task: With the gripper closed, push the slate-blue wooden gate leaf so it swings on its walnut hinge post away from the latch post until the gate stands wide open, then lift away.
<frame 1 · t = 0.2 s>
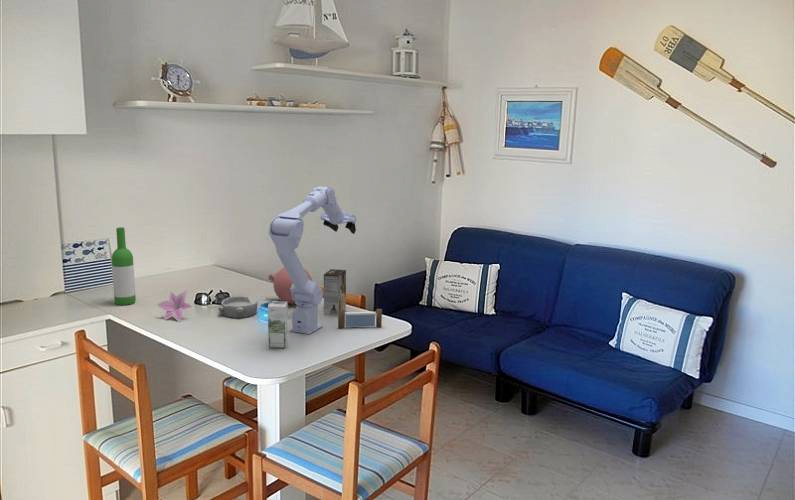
hand: (345, 230, 246), 31 cm above the table, tool tilted 45°, fingers open, 7 cm apart
gate leaf: (360, 319, 230), point 3 cm above the table, hinge at 0.0°
syrup box: (278, 346, 211), on the table
gate posts: (341, 327, 230), on the table
lily: (175, 318, 236), on the table
coffee box: (334, 312, 247), on the table
dish: (239, 314, 243), on the table
pink balloon: (288, 302, 259), on the table
wine bottle: (125, 303, 252), on the table
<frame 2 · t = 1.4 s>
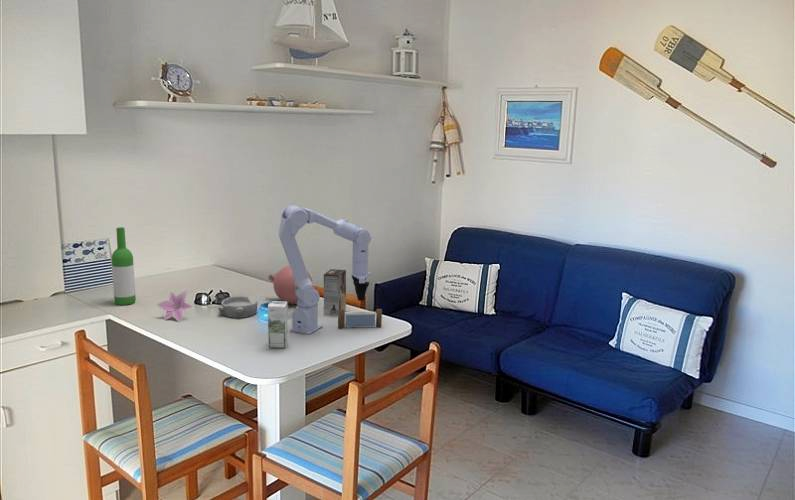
hand: (360, 297, 234), 9 cm above the table, tool pointing down, fingers open, 7 cm apart
nothing on the table moved.
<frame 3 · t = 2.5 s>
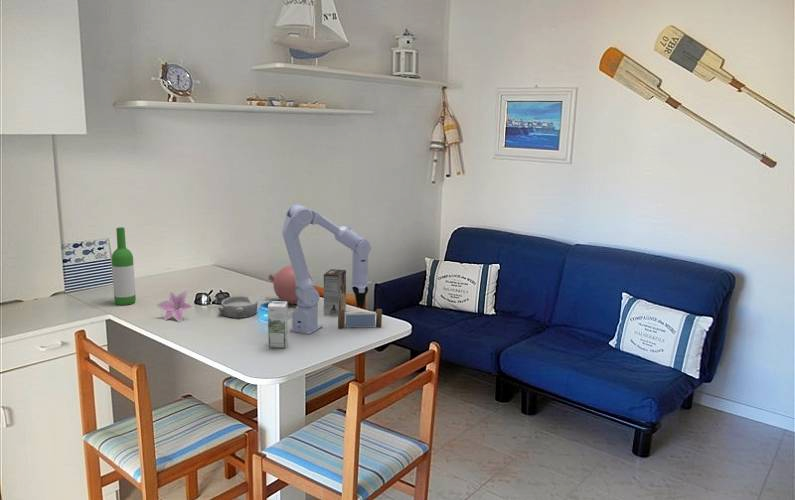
hand: (360, 306, 235), 6 cm above the table, tool pointing down, fingers closed
nothing on the table moved.
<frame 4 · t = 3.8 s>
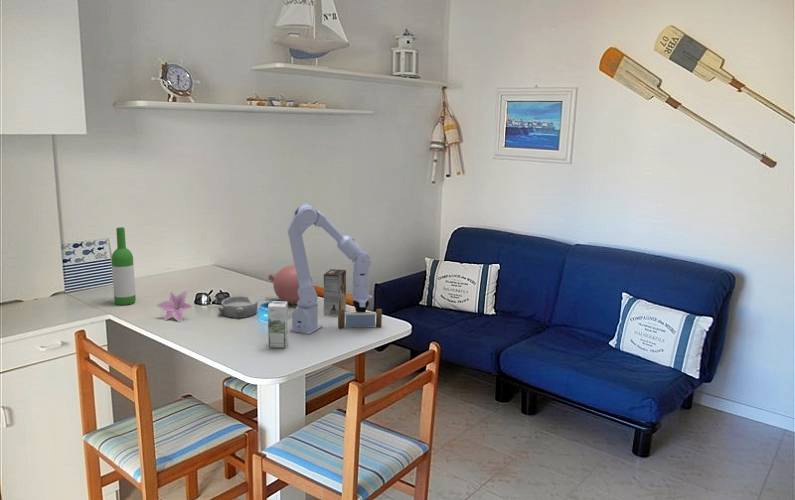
hand: (360, 320, 232), 2 cm above the table, tool pointing down, fingers closed, pressing on gate leaf
gate leaf: (360, 319, 230), point 3 cm above the table, hinge at 1.3°, touching gripper
everything else where it was.
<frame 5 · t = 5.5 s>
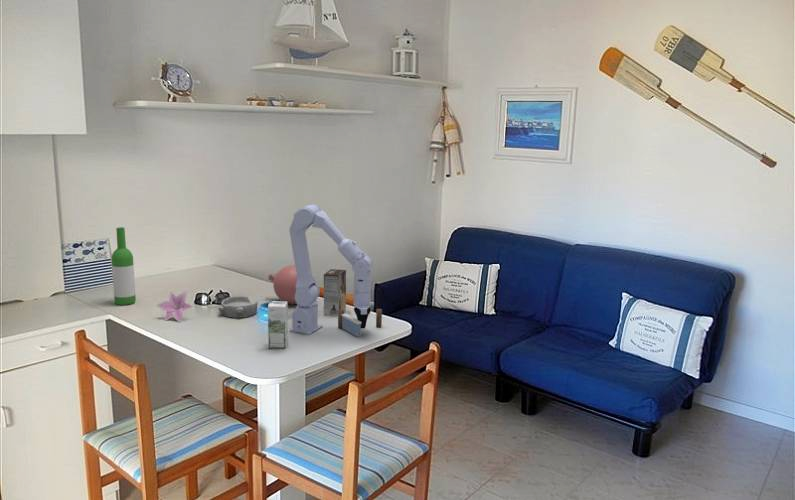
hand: (361, 328, 224), 2 cm above the table, tool pointing down, fingers closed
gate leaf: (351, 324, 224), point 3 cm above the table, hinge at 62.6°, touching gripper
everything else where it was.
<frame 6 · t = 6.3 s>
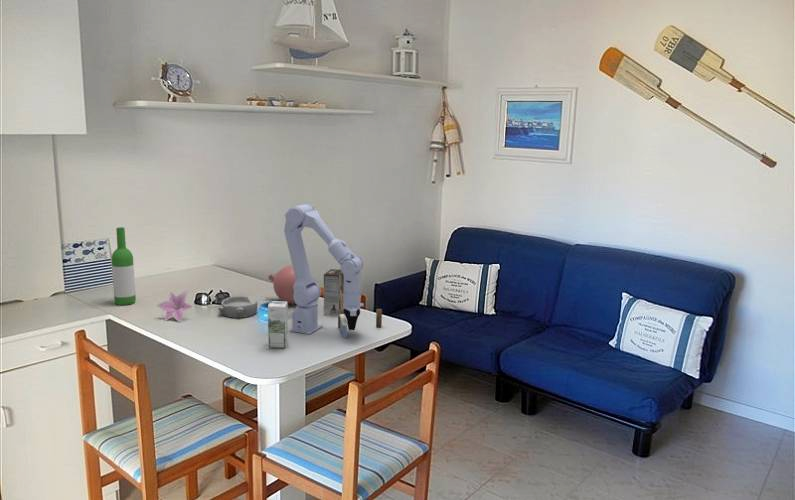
hand: (351, 329, 222), 2 cm above the table, tool pointing down, fingers closed, pressing on gate leaf
gate leaf: (343, 325, 222), point 3 cm above the table, hinge at 87.2°, touching gripper
everything else where it was.
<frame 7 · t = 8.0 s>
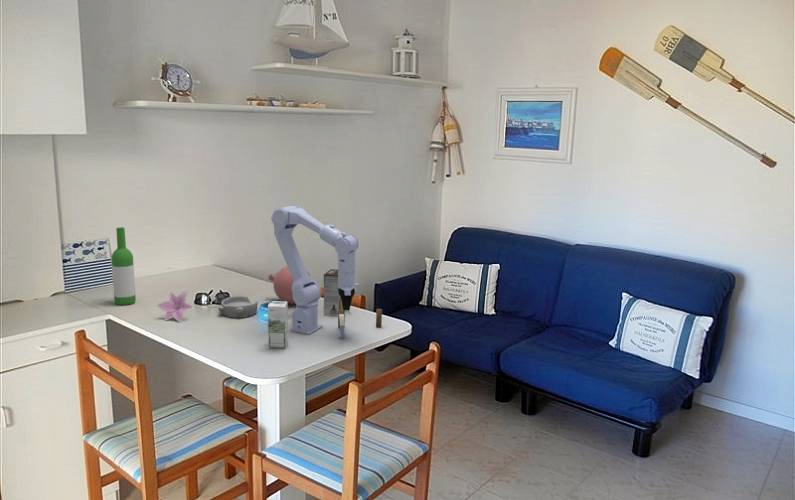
hand: (346, 310, 219), 9 cm above the table, tool pointing down, fingers closed
gate leaf: (341, 325, 222), point 3 cm above the table, hinge at 91.8°
everything else where it was.
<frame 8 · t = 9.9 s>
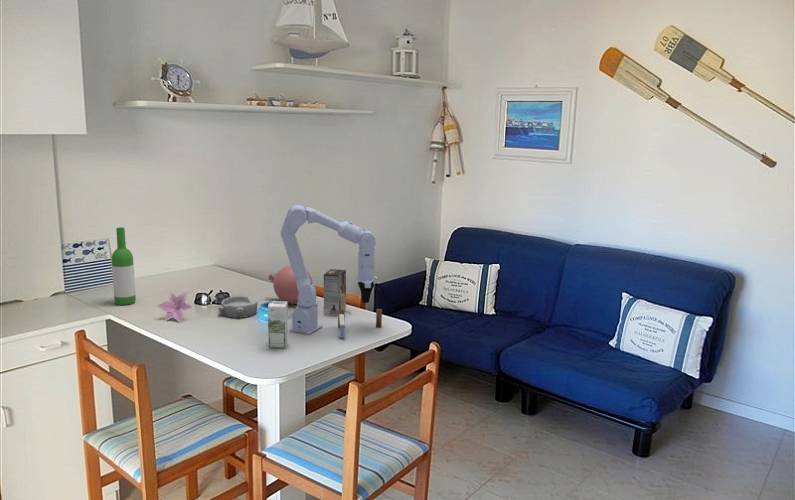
hand: (365, 302, 229), 9 cm above the table, tool pointing down, fingers closed
at the end: gate leaf at +92° (first picture: +0°); coffee box moved 0.2 cm from its start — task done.
